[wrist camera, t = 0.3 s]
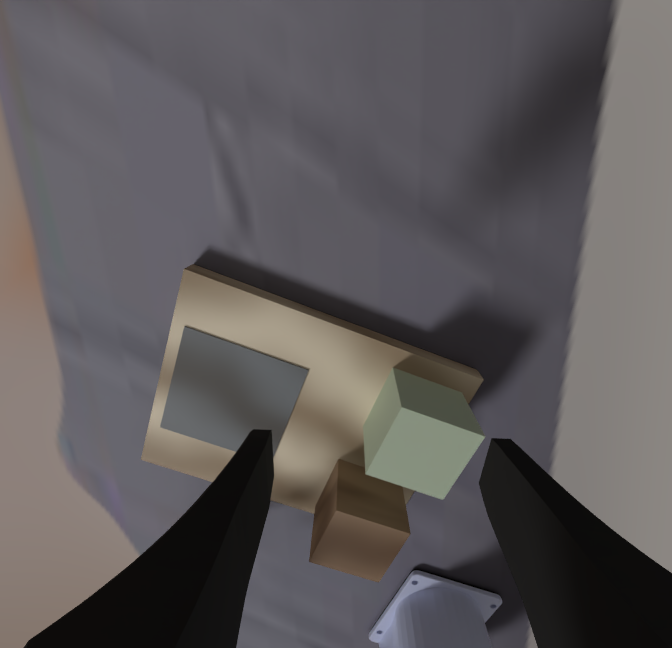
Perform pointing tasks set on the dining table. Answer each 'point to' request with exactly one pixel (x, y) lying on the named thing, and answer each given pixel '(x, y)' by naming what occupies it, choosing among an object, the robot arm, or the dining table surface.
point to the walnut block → (358, 523)
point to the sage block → (419, 434)
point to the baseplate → (274, 384)
